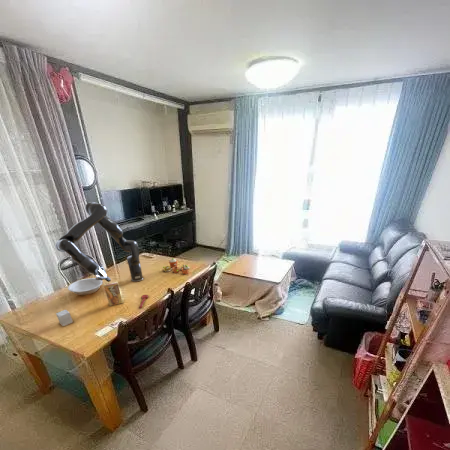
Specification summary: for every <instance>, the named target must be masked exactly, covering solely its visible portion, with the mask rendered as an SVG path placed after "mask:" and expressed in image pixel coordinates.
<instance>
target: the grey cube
mask: <svg viewBox="0 0 450 450" xmlns="http://www.w3.org/2000/svg"><path fill="white" fill-rule="evenodd" d="M55 315H56V317H57V320H58V323H59V324H60V325H61V326H62V327H65V326H68V325H70V324H72V323H74V321H73V319H72V316H71V313H70V311H68V310H67V309H63V310H61V311H58V312H56V313H55Z"/></svg>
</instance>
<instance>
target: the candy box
mask: <svg viewBox="0 0 450 450" xmlns="http://www.w3.org/2000/svg"><path fill="white" fill-rule="evenodd" d="M103 287H104V291H105V294H106V295H105V296H106V299H107V302H108V305H109V306H115V305H121V304H123V302H124V301H123V298H122V294H121V289H120V287H119V282H118V281H114V282H113V281H112V282H108V283H103Z"/></svg>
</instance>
